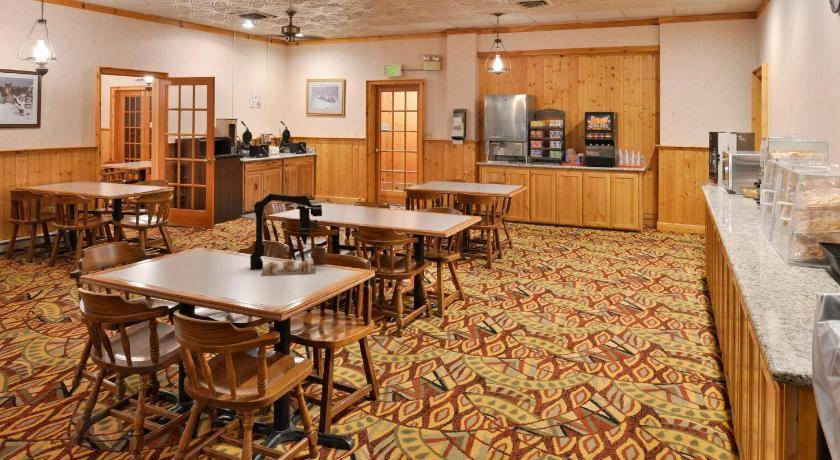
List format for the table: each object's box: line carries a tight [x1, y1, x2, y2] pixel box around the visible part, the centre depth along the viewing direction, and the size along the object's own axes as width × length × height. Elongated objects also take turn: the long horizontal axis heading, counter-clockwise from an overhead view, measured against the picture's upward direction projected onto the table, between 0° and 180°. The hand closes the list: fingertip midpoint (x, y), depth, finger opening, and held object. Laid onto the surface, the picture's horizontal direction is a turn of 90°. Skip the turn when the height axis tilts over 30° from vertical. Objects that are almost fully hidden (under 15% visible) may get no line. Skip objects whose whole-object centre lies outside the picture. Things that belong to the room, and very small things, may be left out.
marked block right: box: [298, 260, 311, 275], centre depth 342 cm, size 6×6×6 cm
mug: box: [310, 247, 327, 266], centre depth 364 cm, size 12×8×9 cm, turn 153°
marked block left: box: [265, 261, 279, 275], centre depth 339 cm, size 6×6×6 cm
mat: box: [260, 267, 317, 277], centre depth 344 cm, size 30×16×1 cm, turn 99°
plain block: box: [282, 258, 296, 272], centre depth 346 cm, size 6×6×6 cm
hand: (305, 243), depth 356 cm, fingers open, 9 cm apart
